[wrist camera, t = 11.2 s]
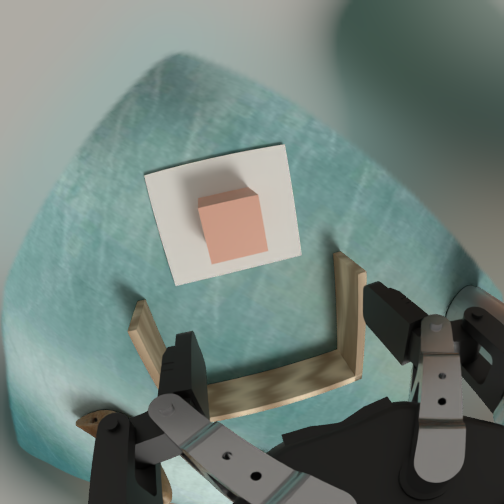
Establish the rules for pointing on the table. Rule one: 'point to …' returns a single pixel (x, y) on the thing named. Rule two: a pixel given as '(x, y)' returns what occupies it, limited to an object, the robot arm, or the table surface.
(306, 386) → the wooden u-shaped wall
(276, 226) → the grey mat
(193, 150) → the table surface
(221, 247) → the terracotta block
